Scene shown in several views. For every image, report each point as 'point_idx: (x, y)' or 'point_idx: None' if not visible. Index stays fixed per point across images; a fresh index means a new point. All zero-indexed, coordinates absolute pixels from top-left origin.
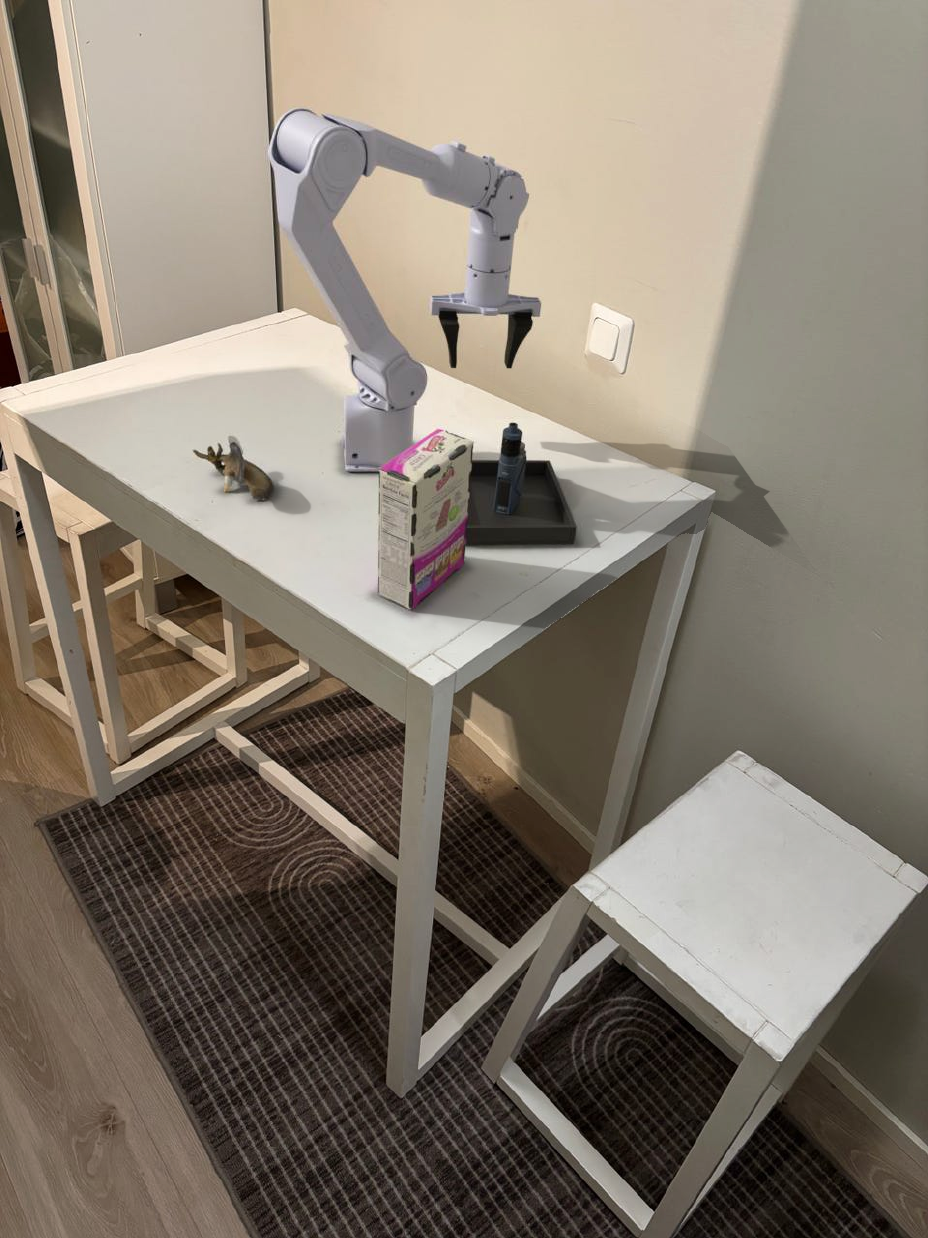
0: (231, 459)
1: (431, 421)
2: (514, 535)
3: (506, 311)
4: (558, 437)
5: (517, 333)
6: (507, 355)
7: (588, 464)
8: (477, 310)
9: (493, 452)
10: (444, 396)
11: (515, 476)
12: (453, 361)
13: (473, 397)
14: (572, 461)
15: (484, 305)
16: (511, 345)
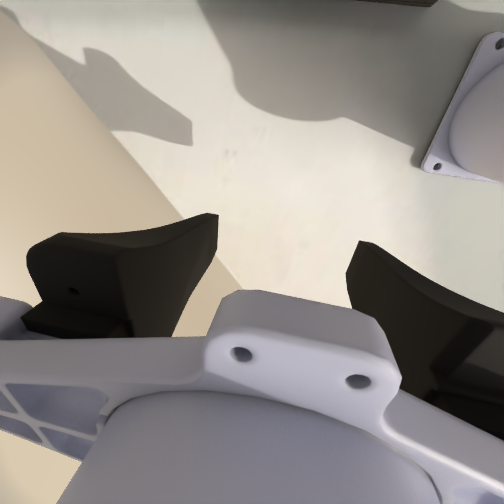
0: None
1: (343, 236)
2: None
3: (136, 339)
4: (161, 156)
5: (140, 242)
6: (207, 240)
7: (120, 42)
8: (397, 398)
9: (280, 115)
10: (294, 294)
11: None
12: (378, 247)
13: (257, 284)
14: (147, 59)
15: (339, 442)
16: (186, 236)
